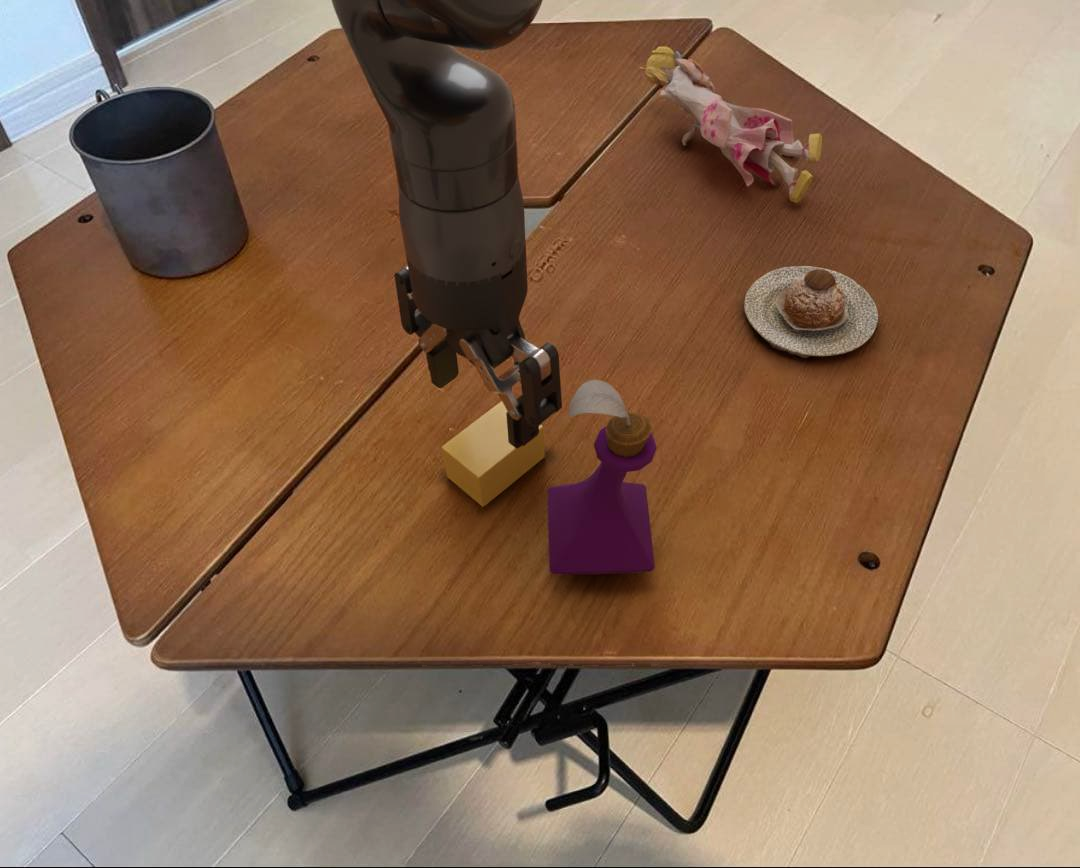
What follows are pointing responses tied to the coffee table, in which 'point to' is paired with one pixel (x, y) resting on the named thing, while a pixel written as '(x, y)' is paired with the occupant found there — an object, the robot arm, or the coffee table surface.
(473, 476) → the block
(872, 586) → the coffee table surface
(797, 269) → the pastry
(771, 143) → the figurine
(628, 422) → the perfume bottle
